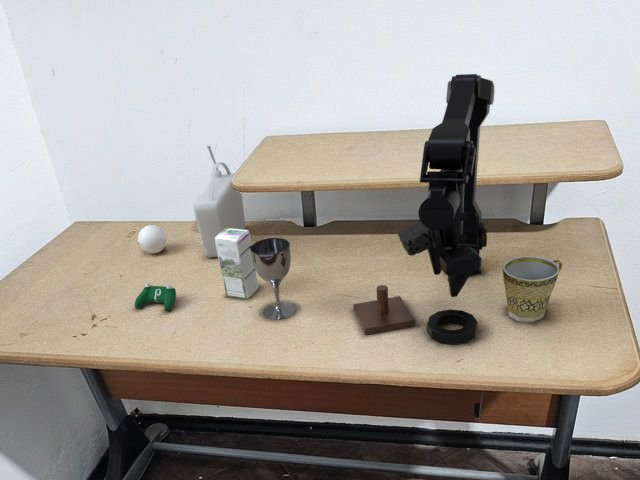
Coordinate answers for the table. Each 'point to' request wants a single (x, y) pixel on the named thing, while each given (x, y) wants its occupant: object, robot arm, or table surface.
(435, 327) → the ring
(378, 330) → the peg stand
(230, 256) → the syrup box
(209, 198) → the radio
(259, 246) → the silver metal goblet
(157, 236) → the white light bulb
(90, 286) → the table surface
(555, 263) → the ceramic cup
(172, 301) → the gaming controller
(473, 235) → the robot arm
